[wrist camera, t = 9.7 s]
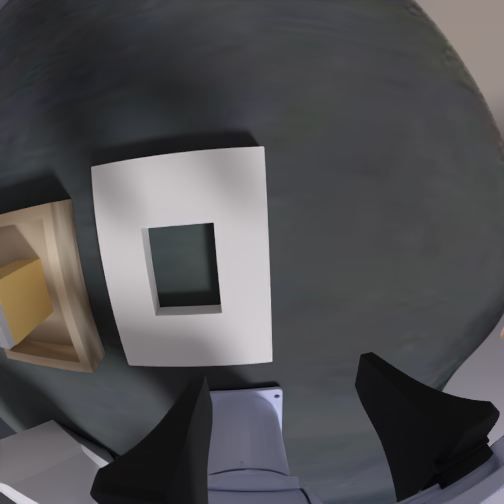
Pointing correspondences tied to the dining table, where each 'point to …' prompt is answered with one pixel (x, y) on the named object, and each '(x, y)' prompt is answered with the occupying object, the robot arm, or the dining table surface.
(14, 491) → the white irregular angular block
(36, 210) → the parts tray
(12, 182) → the dining table surface
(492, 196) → the dining table surface
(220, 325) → the socket block
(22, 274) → the block
